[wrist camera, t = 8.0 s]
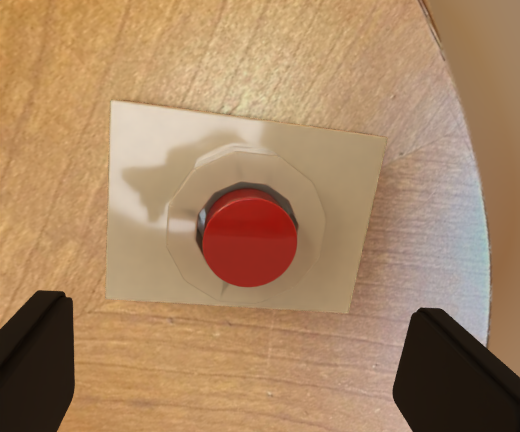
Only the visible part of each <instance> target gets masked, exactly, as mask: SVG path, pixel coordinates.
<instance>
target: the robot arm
mask: <svg viewBox="0 0 520 432" xmlns="http://www.w3.org/2000/svg"><path fill="white" fill-rule="evenodd" d="M74 388H75V377H74V333H73V301H72V298H70V297H66V296H65V293H64V292H63V291H42V290H39V291H37V292H36V293H35V294H34V295H33V296H32V297H31V298H30V299H29V300H28V301H27V302H26V303H25V304H24V305H23V306H22V307H21V308H20V309H19V310H18V311H17V312H16V314H15V315H14V316H13V317H12V318H11V319H10V320H9V321H8V322H7V323H6V324H5V325H4V326H3V327H2V328H1V329H0V432H57V430H58V428H59V426H60V424H61V422H62V420H63V418H64V416H65V413H66V411H67V409H68V407H69V405H70V403H71V401H72V398H73V394H74ZM393 399H394V401H395V403H396V405H397V407H398V408H399V410H400V412H401V413H402V415H403V416H404V418H405V420H406V421H407V423H408V425H409V426H410V428H411V430H412V431H413V432H520V377H518V376H517V375H516V374H515V373H514V372H513V371H512V370H511V369H509V368H508V367H507V366H506V365H505V364H504V363H503V362H501V361H500V360H499V359H498V358H497V357H496V356H495V355H494V354H492V353H491V352H490V351H489V350H488V349H487V348H486V347H485V346H483V345H482V344H481V343H480V342H479V341H478V340H477V339H475V338H474V337H473V336H472V335H471V334H470V333H469V332H468V331H466V330H465V329H464V328H463V327H462V326H461V325H460V324H458V323H457V322H456V321H455V320H454V319H453V318H452V317H451V316H449V315H448V314H447V313H446V312H445V311H444V310H442V309H440V308H419V309H418V310H417V312H415V313H413V314H412V316H411V320H410V323H409V327H408V331H407V335H406V339H405V343H404V347H403V351H402V354H401V358H400V362H399V366H398V370H397V374H396V378H395V382H394V385H393Z"/></svg>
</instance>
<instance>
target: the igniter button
mask: <svg viewBox="0 0 520 432" xmlns="http://www.w3.org/2000/svg"><path fill="white" fill-rule="evenodd" d="M202 248H203V254H204V258H205V260H206V262H207V264H208V266H209V268H210V269H211V270H212V271H213V273H214V274H215V275H216V276H218V277H219V278H220V279H222V280H223V281H225V282H227V283H229V284H232V285H235V286H239V287H258V286H262V285H265V284H268V283H270V282H272V281H274V280H275V279H277V278H278V277H280V276H281V275H282V274H283V273H284V272H285V271H286V270H287V269H288V267H289V266H290V264H291V263H292V261H293V259H294V256H295V254H296V250H297V232H296V228H295V225H294V223H293V221H292V219H291V218H290V216H289V215H288V213H287V212H286V210H285V209H284V208H283V206H282V205H281V203H280V202H279V201H278V200H277V199H276V198H274V197H273V196H272V195H270V194H269V193H267V192H264V191H262V190H258V189H253V188H243V189H237V190H233V191H231V192H228V193H226V194H224V195H223V196H222V197H220V198H219V199H218V200H217V201H215V203H214V204H213V205H212V206H211V208H210V209H209V211H208V213H207V215H206V218H205V221H204V228H203V239H202Z"/></svg>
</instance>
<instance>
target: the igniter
mask: <svg viewBox="0 0 520 432" xmlns="http://www.w3.org/2000/svg"><path fill="white" fill-rule="evenodd" d="M386 144H387V137H383V136H378V135H372V134H365V133H358V132H351V131H344V130H336V129H329V128H322V127H315V126H308V125H300V124H293V123H286V122H279V121H271V120H264V119H257V118H250V117H243V116H235V115H228V114H221V113H214V112H207V111H199V110H192V109H185V108H178V107H170V106H163V105H156V104H149V103H142V102H134V101H127V100H117V99H111V100H110V122H109V163H108V203H107V243H106V283H105V298H106V299H111V300H128V301H144V302H161V303H178V304H195V305H212V306H228V307H245V308H262V309H279V310H296V311H312V312H329V313H346V314H347V313H349V309H350V304H351V300H352V296H353V291H354V287H355V282H356V278H357V273H358V269H359V264H360V260H361V255H362V251H363V246H364V242H365V238H366V233H367V229H368V224H369V220H370V215H371V211H372V206H373V202H374V197H375V193H376V188H377V184H378V180H379V175H380V171H381V166H382V162H383V157H384V153H385V148H386ZM243 188H253V189H258V190H262V191H264V192H267V193H269V194H270V195H272V196H273V197H274V198H276V199H277V200H278V201H279V202H280V203H281V205H282V206H283V208H284V209H285V210H286V212H287V213H288V215H289V216H290V218H291V219H292V221H293V223H294V225H295V228H296V232H297V250H296V254H295V256H294V259H293V261H292V263H291V264H290V266H289V267H288V269H287V270H286V271H285V272H284V273H283V274H282V275H281V276H280V277H278V278H277V279H275V280H274V281H272V282H270V283H268V284H265V285H262V286H258V287H239V286H235V285H232V284H229V283H227V282H225V281H223V280H222V279H220V278H219V277H218V276H216V275H215V274H214V273H213V271H212V270H211V269H210V268H209V266H208V264H207V262H206V260H205V258H204V254H203V248H202V239H203V228H204V221H205V218H206V215H207V213H208V211H209V209H210V208H211V206H212V205H213V204H214V203H215V201H217V200H218V199H219V198H220V197H222V196H223V195H224V194H226V193H228V192H231V191H233V190H237V189H243Z"/></svg>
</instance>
